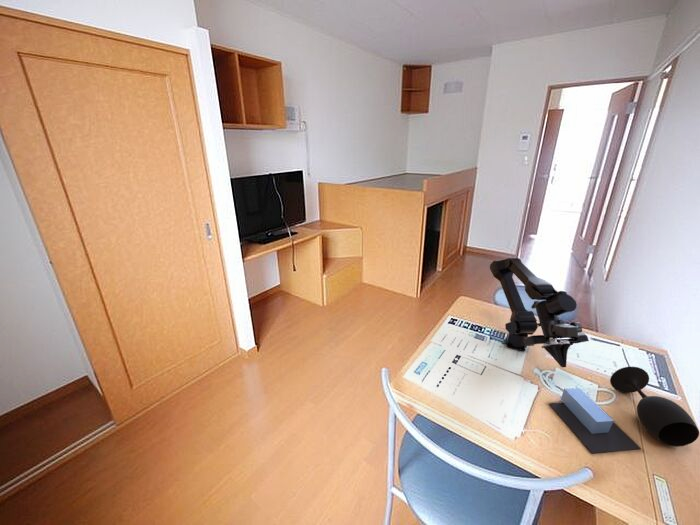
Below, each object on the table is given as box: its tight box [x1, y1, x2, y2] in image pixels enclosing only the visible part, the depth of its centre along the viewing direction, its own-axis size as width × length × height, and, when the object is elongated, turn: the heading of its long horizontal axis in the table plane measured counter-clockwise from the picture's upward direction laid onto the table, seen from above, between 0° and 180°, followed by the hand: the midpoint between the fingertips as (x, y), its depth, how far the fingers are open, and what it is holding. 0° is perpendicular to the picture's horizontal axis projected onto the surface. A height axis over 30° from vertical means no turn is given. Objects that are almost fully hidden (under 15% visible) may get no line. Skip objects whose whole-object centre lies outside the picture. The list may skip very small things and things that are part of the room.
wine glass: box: [609, 366, 700, 448], centre depth 88 cm, size 10×10×20 cm
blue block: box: [560, 387, 614, 434], centre depth 89 cm, size 4×5×12 cm
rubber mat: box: [548, 401, 641, 454], centre depth 87 cm, size 16×14×1 cm
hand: (563, 367), depth 97 cm, fingers closed
